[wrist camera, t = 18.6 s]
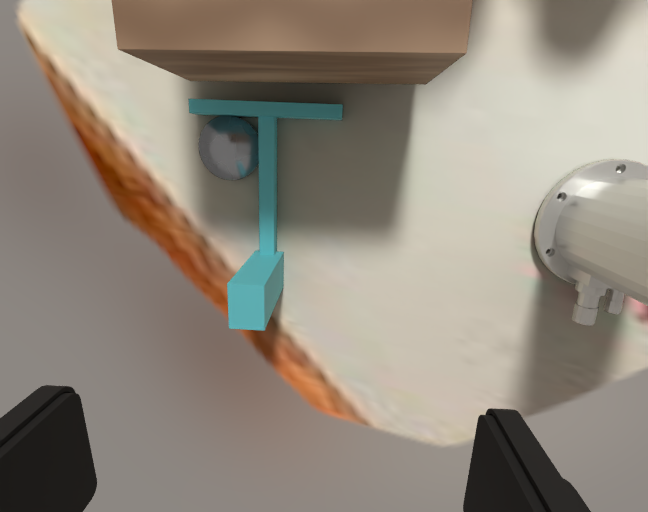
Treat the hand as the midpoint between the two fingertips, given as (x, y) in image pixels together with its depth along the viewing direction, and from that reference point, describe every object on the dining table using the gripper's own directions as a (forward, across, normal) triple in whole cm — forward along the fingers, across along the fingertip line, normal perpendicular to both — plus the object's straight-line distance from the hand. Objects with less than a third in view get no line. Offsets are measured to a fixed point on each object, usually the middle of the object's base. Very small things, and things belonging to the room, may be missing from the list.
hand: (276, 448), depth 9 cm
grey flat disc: (+31, +10, -6) cm, 33 cm away
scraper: (+30, +6, -1) cm, 31 cm away
